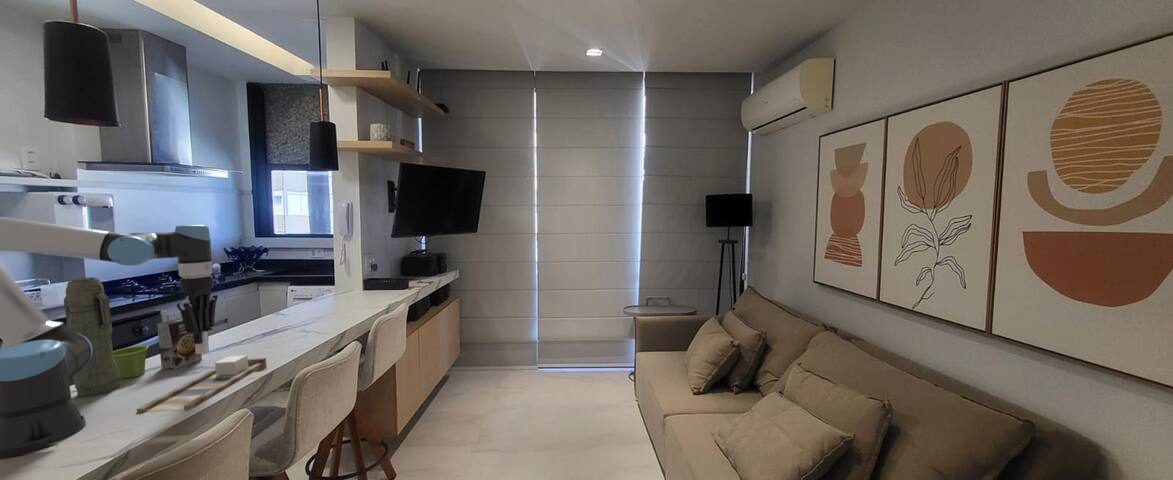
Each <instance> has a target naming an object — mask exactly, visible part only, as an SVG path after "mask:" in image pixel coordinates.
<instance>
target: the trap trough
mask: <svg viewBox="0 0 1173 480" xmlns="http://www.w3.org/2000/svg"><path fill="white" fill-rule="evenodd" d="M267 366H268V365H267V358H266V357H260V358H248V368H246V369H245V370H243V371H241V372H239V373H238V374H233V375H217V376H216V369H215V368H213V369H211V370H209V371H207V372H205V373H203V374H201V375H199V376H197V377H196V378H194V379H192V380H190V381H187V382H186V383H184V384H183V385H180V386H178V387H176V388H174V389H172V390H170V391H169V392H167V393H165V394H163V395H161V396H159V397H157V398H155V399H153V400H152V401H150V402H147V403H146V404H144V405H141V406H139V407H138V408H137V409H136V413H137V414H138V413H139V414H140V413H141V414H142V413H153V412H166V411H167V412H168V411H181V410H182V411H183V410H192V409H193V408H195V407H197V406H198V405H200V404H202V403H203V402H205V401H206V400H208V399H210V398H211V397H213V396H215V395H216V394H218V393H220V392H221V391H223V390H225V389H227V388H228V387H230V386H231V385H233V384H235V383H236V382H238V381H240V380H241V379H243V378H245V377H246V376H248V375H250V374H252V373H257V372H260V371H261V370H263V369H264V368H266V367H267Z"/></svg>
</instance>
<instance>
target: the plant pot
mask: <svg viewBox="0 0 1173 480" xmlns="http://www.w3.org/2000/svg"><path fill="white" fill-rule="evenodd" d="M148 350H149V346H148V345H137V346H130V347H126V348H125V347H124V348H120V349H117V350H113V357H114V362H115V363H116V365H117V367H118V375H119V379H120V380H125V379H124V378H126V379H127V378H131V377H132V378H136V377H139V376H142V375H143V374H144V373H145V372H146V359H147V358H146V356H147V352H148ZM135 376H136V377H135ZM119 379H118V380H119Z"/></svg>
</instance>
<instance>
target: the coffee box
mask: <svg viewBox="0 0 1173 480" xmlns="http://www.w3.org/2000/svg"><path fill="white" fill-rule="evenodd" d="M156 325H157V335H158V345H159V346H158V347H159V353H160V354H159V355H160V365H161V368H162V367H163V368H162V369H169V368H173V370H176V369H179V368H180V369H181V368H182V367H185V366H188V365H191V364H194V363H197V362H199V361H202V360H203V357H202V356H203V354H196V352H195V343H194V335H193V333H187V332H186V329H185V325H184V322H183V319H182V317H179V318H175V319H172V320H167V321H162V322H159V323H156Z"/></svg>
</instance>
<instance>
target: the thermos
mask: <svg viewBox="0 0 1173 480" xmlns="http://www.w3.org/2000/svg"><path fill="white" fill-rule="evenodd" d="M104 288H105V287H104V285H103V283H102V282H101V279H99V278H96V277H83V278H76V279H72V280H70V281H68V282H67V284H66V288H65V291H64V292H65V297H64V298H63V304H64V305H63V306H64V311H65V319H66V323H65V324H66V326H67V327H68V328H69V329H70V330H71V331H72V332H75V333H79V334H81V335H83V336H85V337H86V338H88V339H89V341H90V342H91V344H92V347H93V353H92V356H91V358H90V360H89V362H88V363H87V365H86V366H85V367H84V368H83V369H82V370H80V371H79V372H78V373H76V374H74V375H73V382H74V388H75V389H76V395H77V397H78V398H90V397H89V396H91V397H96V396H99V395H104V394H108V393H110V392H113V391H115V390H118V388H119V387H120V384H119V375H118V367H117V365H116V363H115V362H114V357H113V352H114V350H113V343H112V333H113V325H112V324H113V323H112V319H111V318H112V317H111V308H110V298H109V296H108V295H107V294H106V293H105V289H104Z"/></svg>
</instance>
